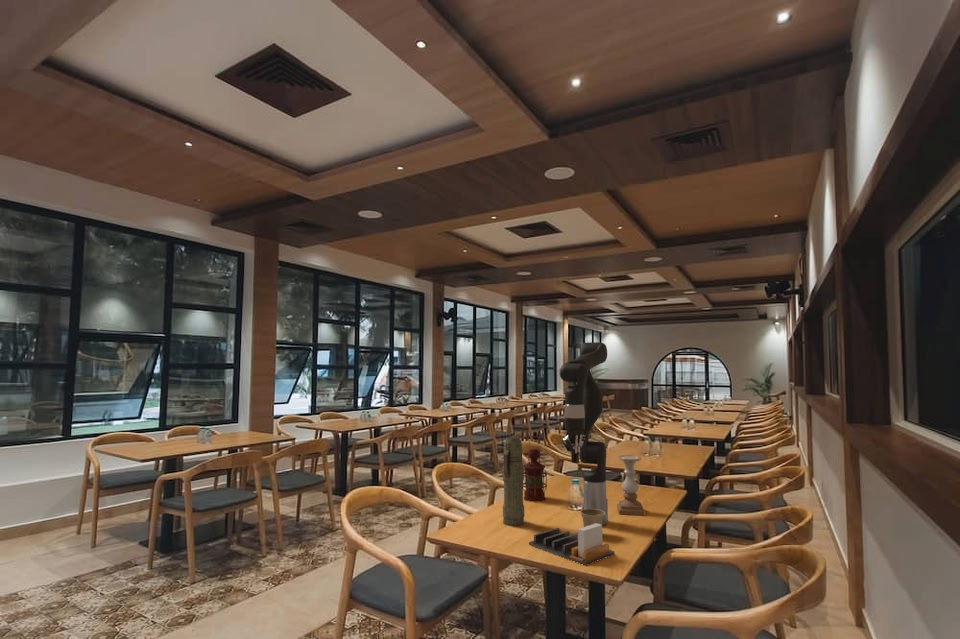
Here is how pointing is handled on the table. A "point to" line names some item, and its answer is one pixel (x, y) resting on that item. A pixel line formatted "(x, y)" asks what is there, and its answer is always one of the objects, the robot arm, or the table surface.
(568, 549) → the rack
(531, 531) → the table surface
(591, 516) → the flower pot
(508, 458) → the thermos
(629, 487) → the candle holder
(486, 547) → the table surface
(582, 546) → the panel
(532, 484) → the lantern
